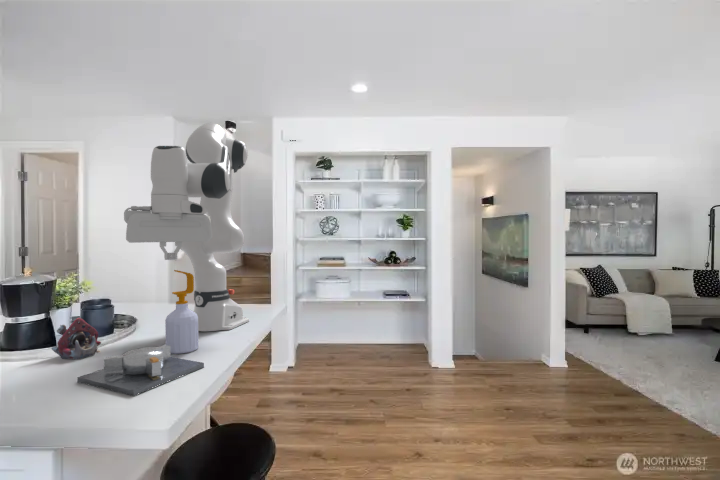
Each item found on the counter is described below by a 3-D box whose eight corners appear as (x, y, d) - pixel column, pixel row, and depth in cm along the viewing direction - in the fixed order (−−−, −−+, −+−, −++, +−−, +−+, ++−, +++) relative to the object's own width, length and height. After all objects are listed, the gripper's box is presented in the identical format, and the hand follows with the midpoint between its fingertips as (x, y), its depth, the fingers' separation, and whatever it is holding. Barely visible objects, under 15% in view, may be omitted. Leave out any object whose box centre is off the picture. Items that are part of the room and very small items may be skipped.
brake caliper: (74, 355, 107) (56, 318, 109) (53, 375, 110) (37, 339, 112) (113, 344, 117) (96, 311, 120) (94, 363, 120) (77, 330, 123)
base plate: (151, 357, 112) (151, 352, 112) (203, 367, 104) (203, 362, 104) (77, 382, 94) (77, 376, 94) (133, 396, 86) (133, 389, 86)
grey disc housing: (102, 371, 96) (101, 355, 96) (167, 356, 108) (167, 342, 108) (119, 386, 87) (119, 368, 87) (189, 367, 99) (189, 352, 99)
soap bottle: (161, 350, 119) (160, 270, 119) (190, 343, 126) (189, 267, 125) (173, 356, 113) (171, 272, 113) (203, 349, 120) (202, 269, 119)
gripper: (124, 204, 94) (125, 262, 94) (212, 207, 105) (213, 258, 105) (123, 206, 99) (124, 260, 100) (208, 208, 110) (208, 257, 111)
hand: (170, 259), depth 102 cm, fingers closed
